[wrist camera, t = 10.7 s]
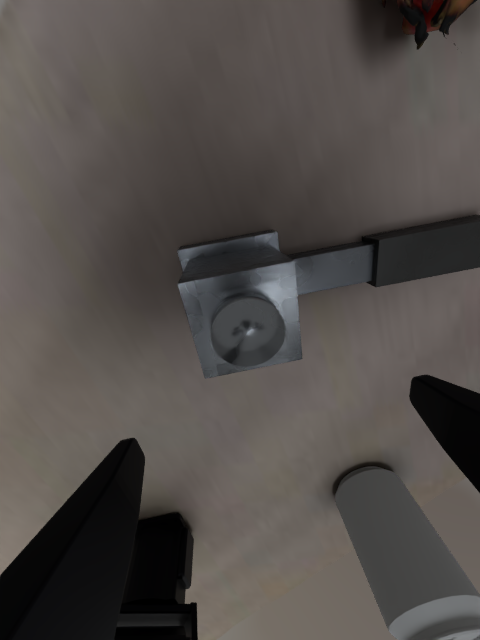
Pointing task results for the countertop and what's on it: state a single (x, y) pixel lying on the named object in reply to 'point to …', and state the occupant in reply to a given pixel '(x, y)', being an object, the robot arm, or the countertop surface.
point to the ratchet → (368, 255)
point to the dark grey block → (242, 309)
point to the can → (406, 560)
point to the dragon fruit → (429, 16)
